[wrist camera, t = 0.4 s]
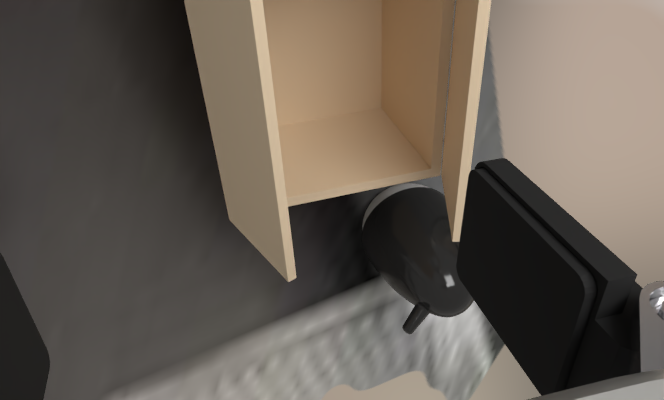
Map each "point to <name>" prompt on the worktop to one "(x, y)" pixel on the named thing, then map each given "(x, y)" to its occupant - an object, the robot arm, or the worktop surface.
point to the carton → (358, 92)
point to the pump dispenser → (415, 250)
